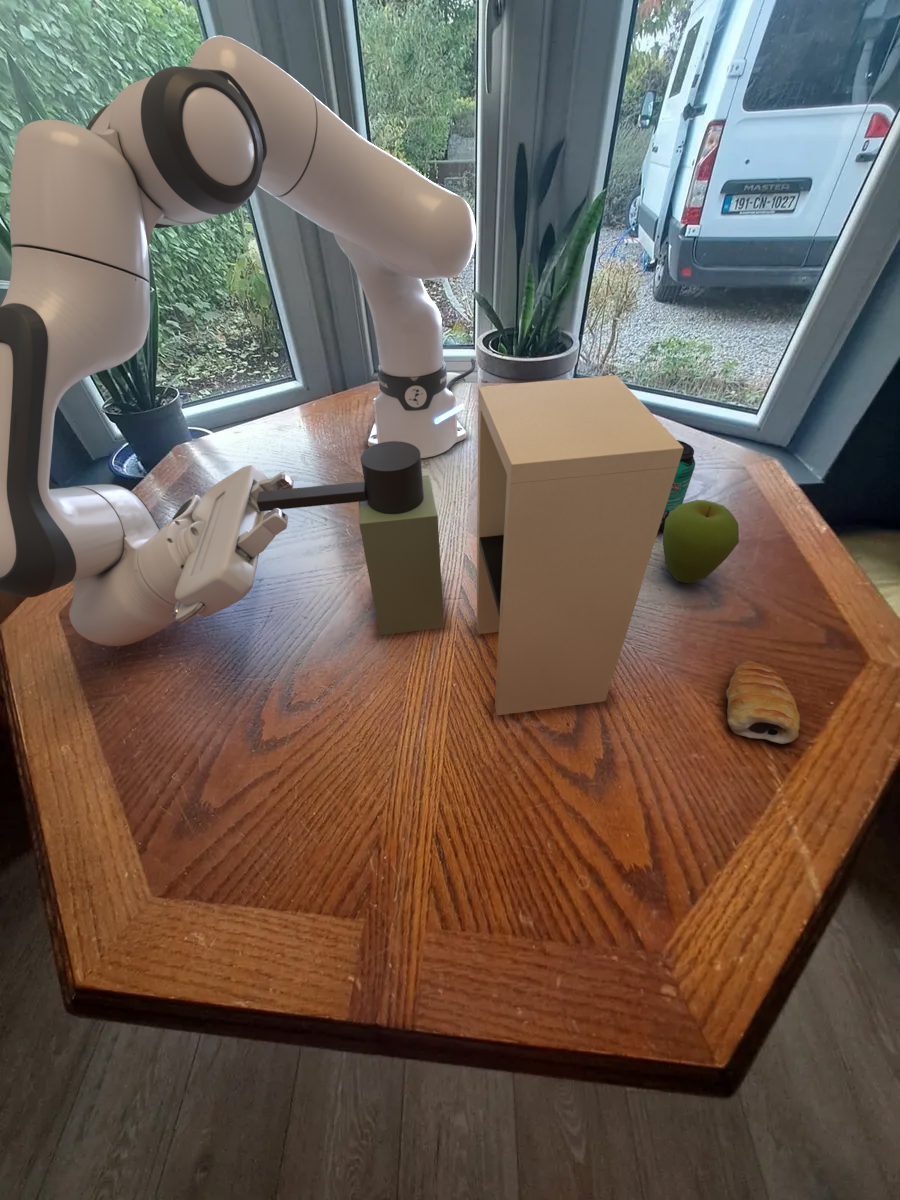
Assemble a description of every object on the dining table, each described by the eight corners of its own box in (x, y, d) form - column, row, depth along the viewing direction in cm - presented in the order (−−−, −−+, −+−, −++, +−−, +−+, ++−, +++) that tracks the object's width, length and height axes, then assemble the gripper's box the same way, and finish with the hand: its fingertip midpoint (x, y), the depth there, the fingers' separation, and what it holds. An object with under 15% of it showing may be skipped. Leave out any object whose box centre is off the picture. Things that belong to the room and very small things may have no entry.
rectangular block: (377, 591, 70) (358, 481, 58) (436, 585, 71) (429, 474, 59) (380, 635, 64) (359, 523, 52) (444, 628, 65) (437, 515, 53)
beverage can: (630, 504, 83) (648, 433, 74) (676, 512, 81) (700, 440, 72) (624, 529, 78) (642, 456, 70) (673, 538, 76) (698, 465, 68)
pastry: (718, 665, 59) (730, 643, 57) (783, 678, 58) (798, 656, 55) (725, 735, 53) (738, 715, 50) (798, 752, 52) (816, 731, 49)
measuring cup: (265, 495, 57) (252, 453, 53) (421, 480, 58) (417, 438, 54) (258, 528, 52) (243, 485, 49) (426, 511, 54) (423, 467, 50)
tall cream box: (476, 627, 65) (478, 386, 44) (570, 616, 66) (616, 374, 45) (496, 715, 56) (511, 464, 35) (605, 701, 56) (684, 447, 35)
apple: (637, 566, 72) (658, 495, 64) (687, 551, 74) (713, 480, 66) (678, 607, 66) (706, 534, 58) (731, 589, 68) (766, 517, 60)
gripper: (139, 611, 48) (248, 538, 44) (189, 492, 63) (274, 429, 59) (196, 645, 52) (300, 581, 48) (230, 526, 67) (312, 469, 63)
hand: (286, 497), depth 54 cm, fingers open, 6 cm apart
